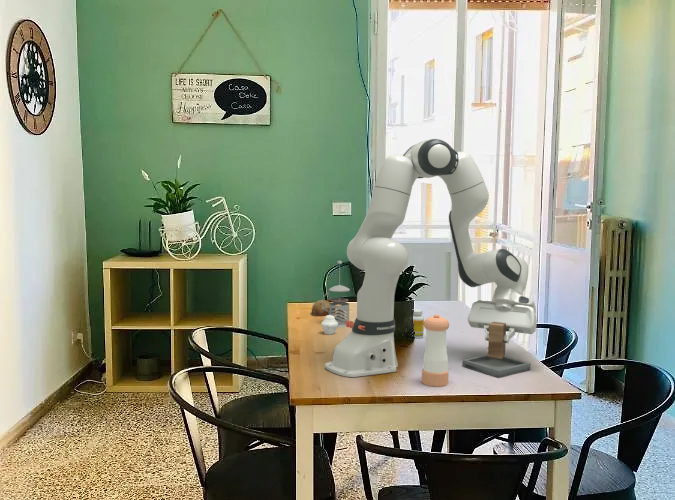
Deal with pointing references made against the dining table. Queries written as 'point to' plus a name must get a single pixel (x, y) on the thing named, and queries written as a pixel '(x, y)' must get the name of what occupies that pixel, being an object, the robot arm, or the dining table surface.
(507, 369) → the tray
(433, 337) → the pepper shaker
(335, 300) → the french press
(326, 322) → the muffin
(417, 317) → the supplement bottle
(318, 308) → the bread roll
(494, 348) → the walnut block
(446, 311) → the dining table surface
